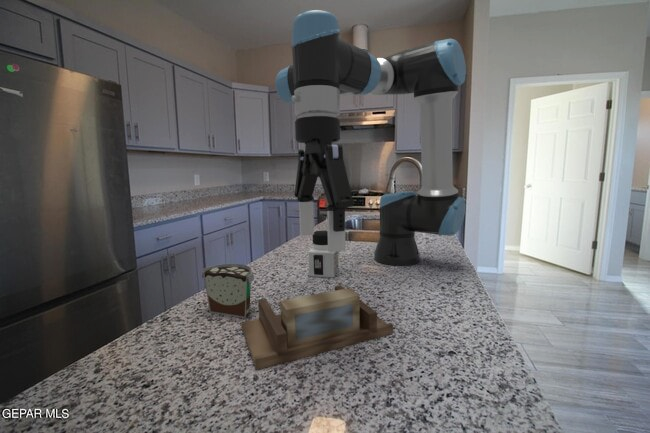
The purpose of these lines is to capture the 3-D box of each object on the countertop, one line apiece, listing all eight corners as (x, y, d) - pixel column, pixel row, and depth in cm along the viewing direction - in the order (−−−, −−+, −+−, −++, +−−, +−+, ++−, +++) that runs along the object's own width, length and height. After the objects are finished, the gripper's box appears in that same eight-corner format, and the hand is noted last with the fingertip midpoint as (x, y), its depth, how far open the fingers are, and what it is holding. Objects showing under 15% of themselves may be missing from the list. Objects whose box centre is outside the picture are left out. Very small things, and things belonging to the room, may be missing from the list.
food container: (266, 307, 72) (264, 265, 71) (251, 319, 66) (249, 273, 65) (221, 300, 76) (218, 260, 75) (204, 311, 70) (200, 268, 69)
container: (334, 278, 90) (333, 234, 88) (308, 276, 92) (307, 233, 90) (338, 269, 98) (338, 228, 96) (314, 268, 99) (313, 228, 97)
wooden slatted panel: (354, 303, 73) (354, 282, 72) (392, 333, 59) (393, 308, 59) (241, 326, 63) (240, 303, 62) (256, 369, 49) (254, 340, 49)
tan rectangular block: (349, 321, 63) (349, 287, 61) (359, 331, 59) (359, 295, 58) (281, 336, 57) (279, 300, 56) (288, 349, 53) (286, 310, 52)
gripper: (276, 126, 62) (280, 231, 65) (326, 101, 39) (329, 263, 43) (311, 127, 65) (314, 228, 68) (377, 105, 42) (376, 256, 45)
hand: (320, 242), depth 55 cm, fingers open, 13 cm apart
